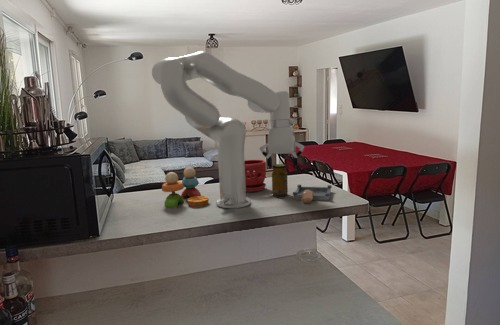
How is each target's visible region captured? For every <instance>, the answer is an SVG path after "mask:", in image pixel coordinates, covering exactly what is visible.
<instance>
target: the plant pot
mask: <svg viewBox="0 0 500 325" xmlns="http://www.w3.org/2000/svg"><path fill="white" fill-rule="evenodd" d="M244 161H245V183H246V193H247V192H250V193H251V192H258V191H262V190H264V189H265V188H266V186H267V185H266V183H265V180H266V175H267V163H266V162H267V161H266V160H264V159H244Z"/></svg>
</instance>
